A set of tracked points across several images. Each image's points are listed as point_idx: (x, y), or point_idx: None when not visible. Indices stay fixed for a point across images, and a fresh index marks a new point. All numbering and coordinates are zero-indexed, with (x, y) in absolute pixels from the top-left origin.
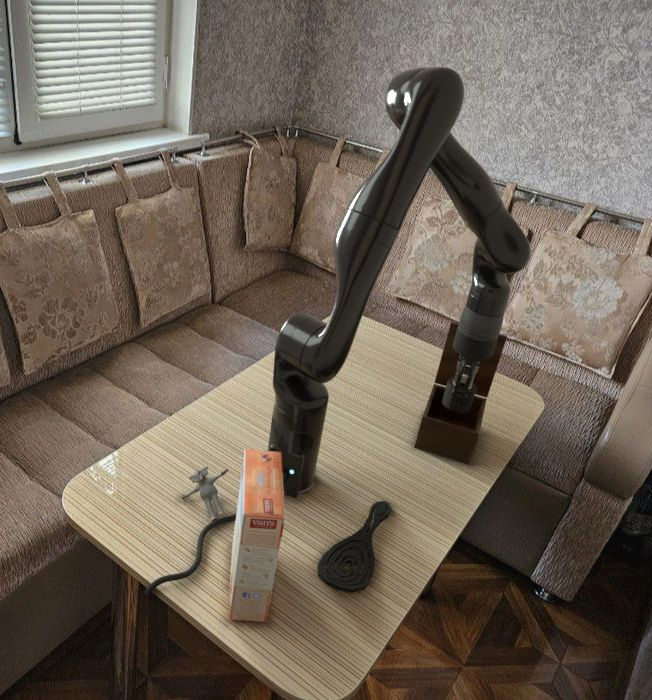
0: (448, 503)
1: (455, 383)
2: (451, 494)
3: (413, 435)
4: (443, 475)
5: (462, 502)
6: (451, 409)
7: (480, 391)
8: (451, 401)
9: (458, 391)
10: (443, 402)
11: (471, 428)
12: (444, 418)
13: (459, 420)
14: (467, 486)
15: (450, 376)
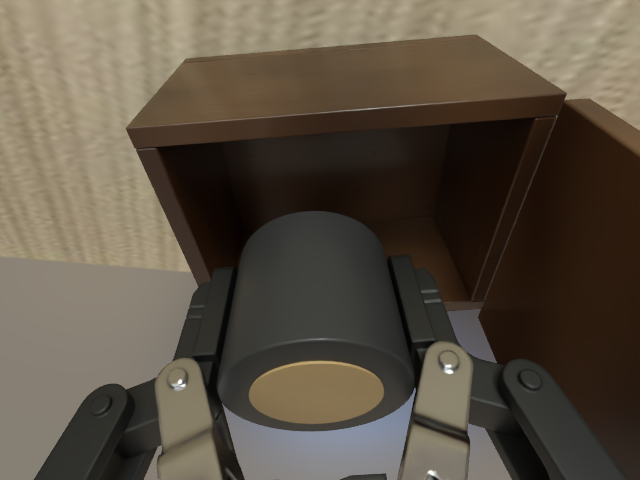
0: (25, 222)
1: (161, 453)
2: (69, 221)
3: (268, 29)
4: (126, 187)
5: (68, 246)
6: (202, 284)
7: (492, 315)
8: (203, 310)
9: (124, 440)
10: (268, 230)
11: (415, 212)
12: (442, 125)
13: (442, 177)
14: (142, 244)
15: (572, 225)
